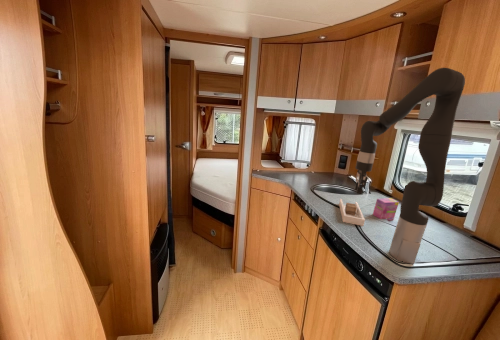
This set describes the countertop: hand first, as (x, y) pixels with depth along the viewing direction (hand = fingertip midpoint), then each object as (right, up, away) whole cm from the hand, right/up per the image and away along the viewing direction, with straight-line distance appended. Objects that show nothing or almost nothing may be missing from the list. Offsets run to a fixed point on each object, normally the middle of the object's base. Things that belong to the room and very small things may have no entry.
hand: (357, 191), depth 117 cm
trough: (0, -15, +11) cm, 19 cm away
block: (+1, -13, +12) cm, 18 cm away
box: (+20, -17, +12) cm, 29 cm away
